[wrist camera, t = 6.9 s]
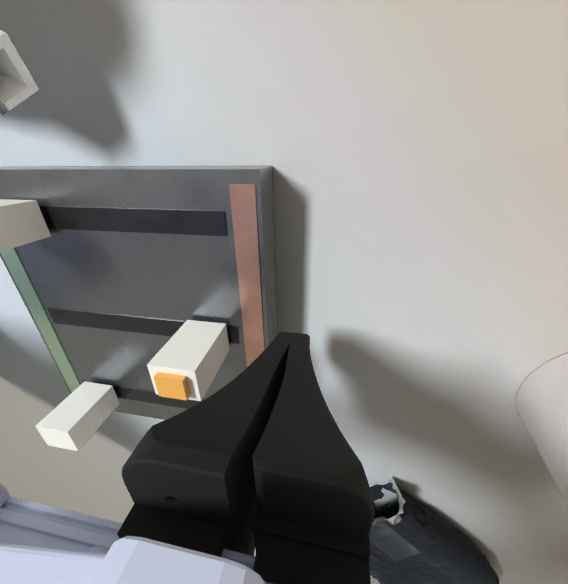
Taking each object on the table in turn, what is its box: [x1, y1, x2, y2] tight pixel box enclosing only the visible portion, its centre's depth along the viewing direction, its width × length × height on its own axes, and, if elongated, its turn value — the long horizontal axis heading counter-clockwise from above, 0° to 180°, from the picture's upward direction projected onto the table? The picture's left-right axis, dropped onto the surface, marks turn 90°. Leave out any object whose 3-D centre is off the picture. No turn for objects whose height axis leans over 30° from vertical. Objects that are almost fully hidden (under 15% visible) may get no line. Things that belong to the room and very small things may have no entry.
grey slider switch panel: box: [0, 166, 277, 420], centre depth 15 cm, size 14×15×2 cm
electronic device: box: [369, 476, 499, 584], centre depth 22 cm, size 9×6×15 cm
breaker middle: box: [147, 320, 230, 401], centre depth 12 cm, size 2×2×4 cm
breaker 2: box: [36, 381, 120, 451], centre depth 16 cm, size 2×2×3 cm
